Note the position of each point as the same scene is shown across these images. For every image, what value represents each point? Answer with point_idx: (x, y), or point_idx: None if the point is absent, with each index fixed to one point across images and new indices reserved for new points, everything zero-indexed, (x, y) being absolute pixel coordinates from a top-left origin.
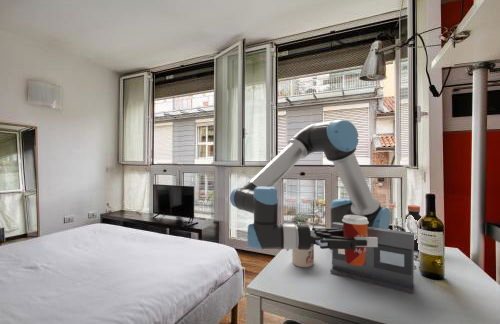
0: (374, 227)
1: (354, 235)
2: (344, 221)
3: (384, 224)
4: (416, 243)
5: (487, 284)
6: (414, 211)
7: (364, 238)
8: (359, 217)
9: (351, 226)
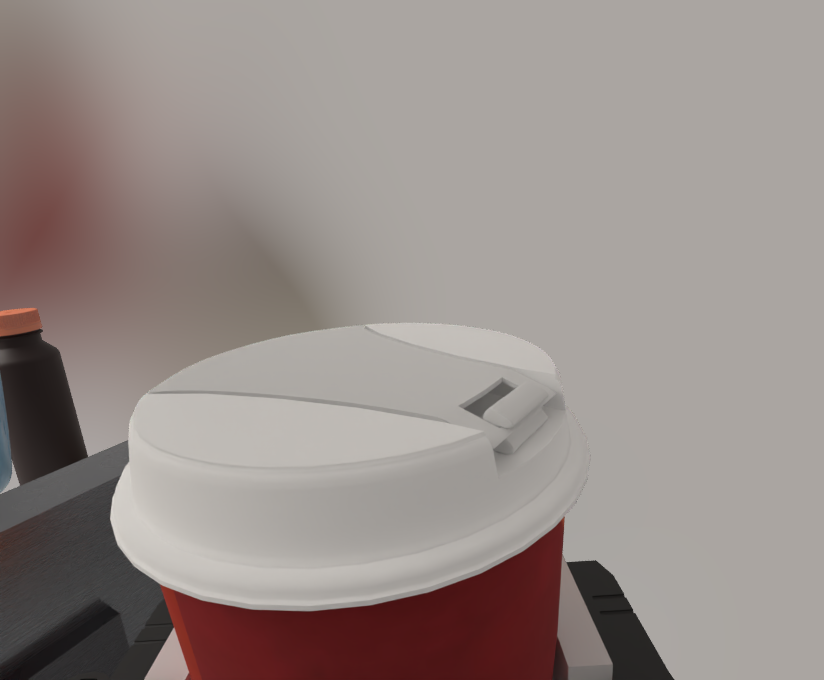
0: (109, 448)
1: (555, 641)
2: (430, 568)
3: (5, 424)
4: (73, 450)
5: None
6: (27, 331)
7: (563, 559)
8: (376, 347)
9: (553, 544)
